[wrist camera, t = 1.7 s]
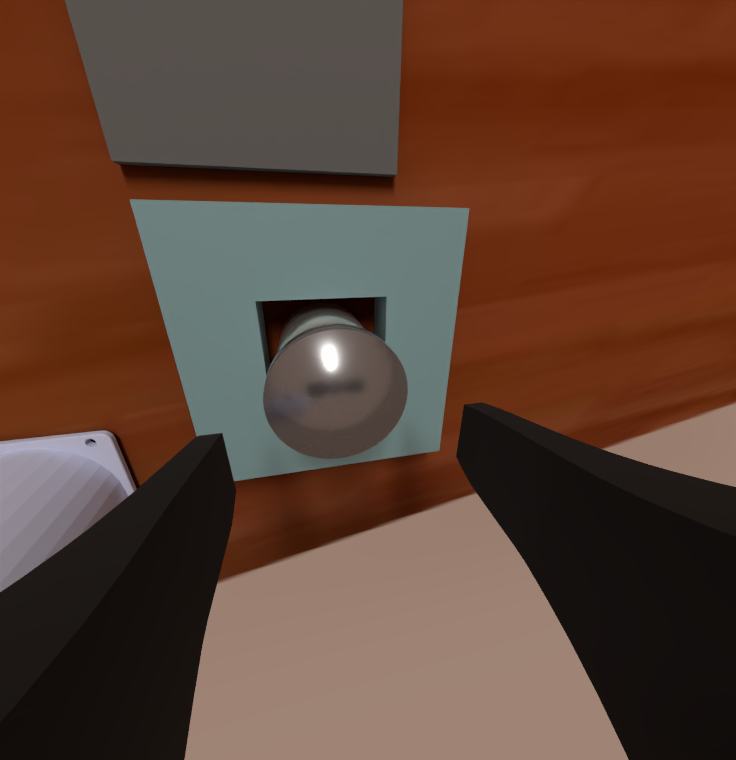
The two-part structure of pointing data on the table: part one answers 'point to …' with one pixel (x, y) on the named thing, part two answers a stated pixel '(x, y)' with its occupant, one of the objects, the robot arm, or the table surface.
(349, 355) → the door knob
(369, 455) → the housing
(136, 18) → the rubber mat
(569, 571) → the robot arm
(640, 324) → the table surface
